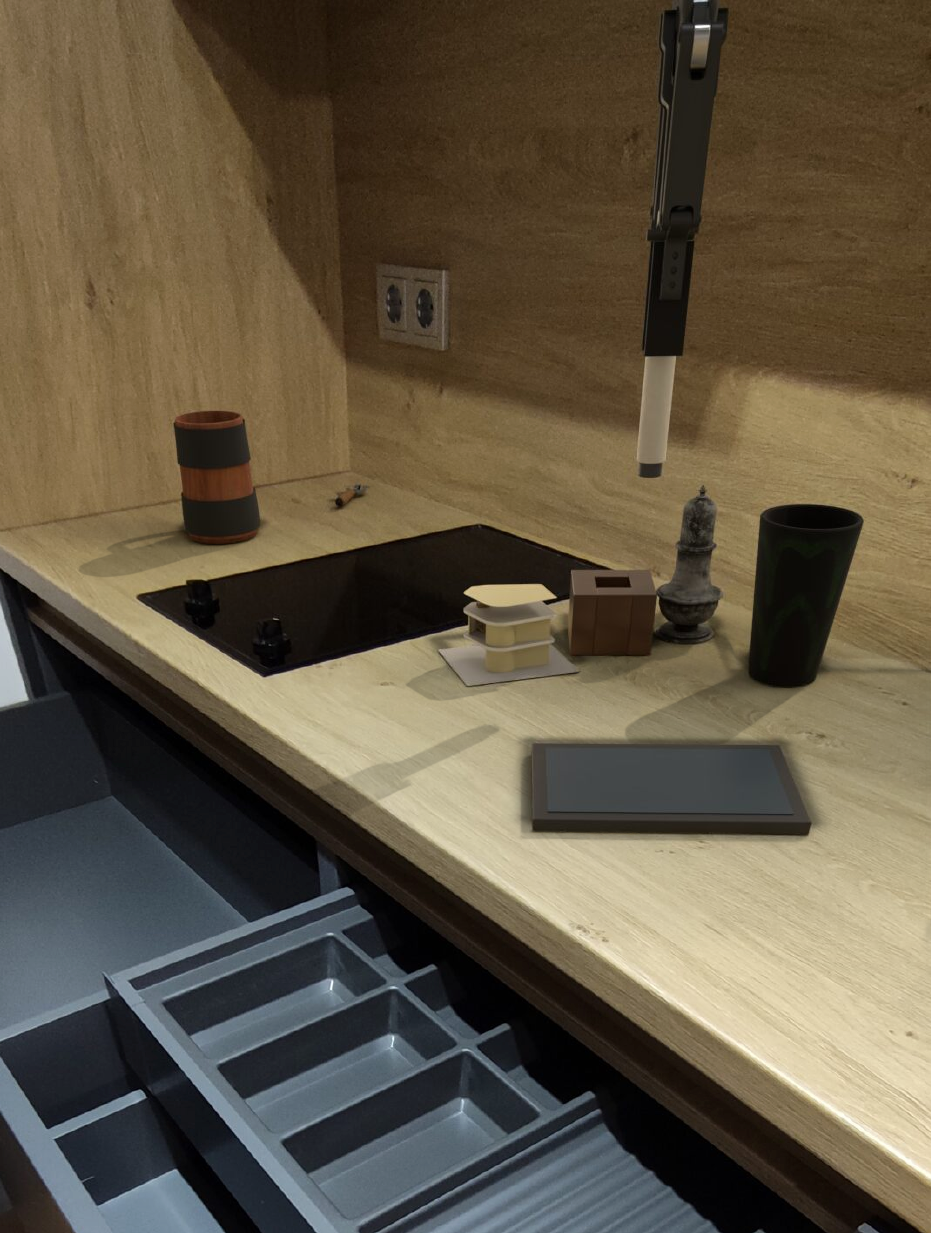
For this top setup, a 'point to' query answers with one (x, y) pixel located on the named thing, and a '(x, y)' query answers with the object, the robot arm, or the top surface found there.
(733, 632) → the top surface
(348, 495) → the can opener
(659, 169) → the robot arm
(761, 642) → the cup
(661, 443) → the stylus
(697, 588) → the salt shaker
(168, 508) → the top surface
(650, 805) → the tablet
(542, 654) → the stacked layers on plate
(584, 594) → the holder
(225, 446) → the mug
